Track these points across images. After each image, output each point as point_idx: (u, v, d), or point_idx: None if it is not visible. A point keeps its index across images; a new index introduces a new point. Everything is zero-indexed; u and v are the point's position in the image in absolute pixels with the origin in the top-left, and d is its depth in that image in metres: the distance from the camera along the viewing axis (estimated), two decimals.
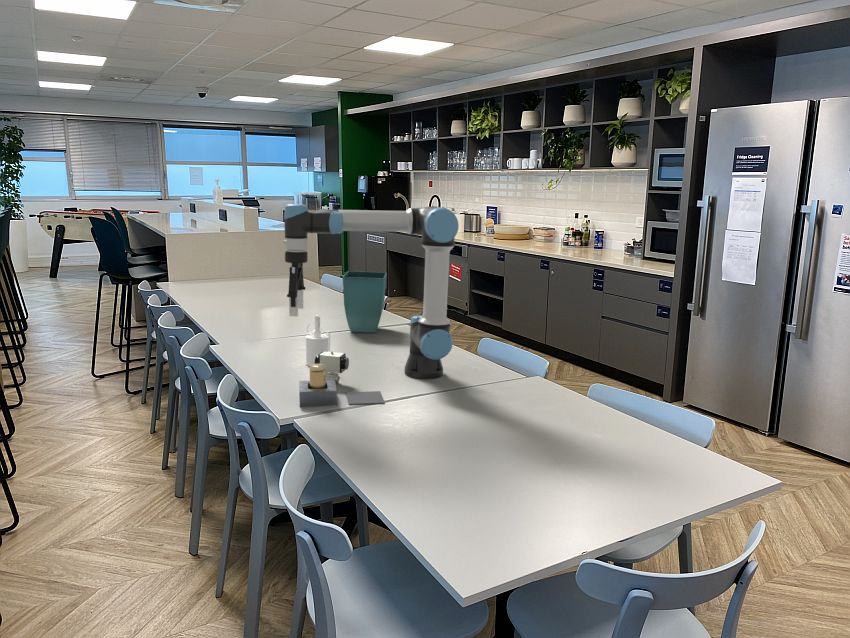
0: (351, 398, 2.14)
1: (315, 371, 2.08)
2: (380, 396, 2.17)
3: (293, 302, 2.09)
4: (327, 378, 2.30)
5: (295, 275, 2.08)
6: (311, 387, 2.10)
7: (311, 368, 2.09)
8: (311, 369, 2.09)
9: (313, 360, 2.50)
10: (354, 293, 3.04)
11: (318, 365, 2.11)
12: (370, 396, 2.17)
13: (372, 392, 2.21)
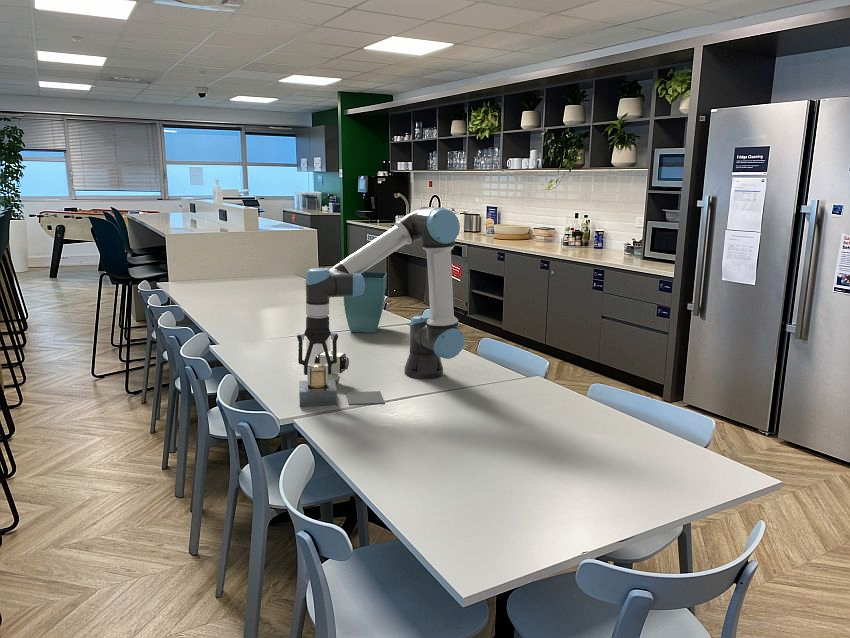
0: (351, 398, 2.14)
1: (315, 371, 2.08)
2: (380, 396, 2.17)
3: None
4: None
5: None
6: (311, 387, 2.10)
7: (311, 368, 2.09)
8: (311, 369, 2.09)
9: (313, 360, 2.50)
10: None
11: (318, 365, 2.11)
12: (370, 396, 2.17)
13: (372, 392, 2.21)
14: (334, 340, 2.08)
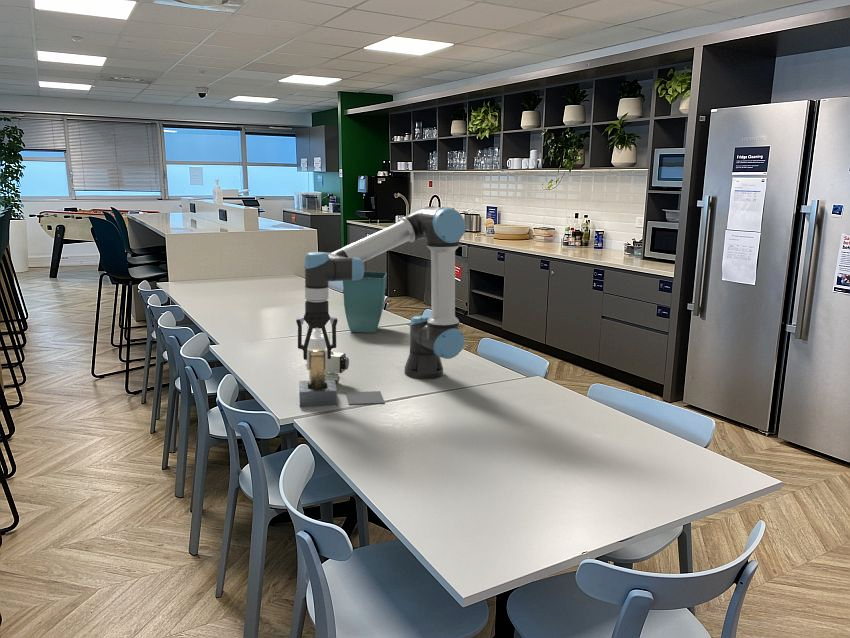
0: (351, 398, 2.14)
1: (314, 356, 2.07)
2: (380, 396, 2.17)
3: (303, 354, 2.08)
4: (327, 378, 2.30)
5: (298, 327, 2.06)
6: (311, 372, 2.09)
7: (310, 353, 2.07)
8: (310, 354, 2.08)
9: None
10: (354, 293, 3.04)
11: (317, 350, 2.10)
12: (370, 396, 2.17)
13: (372, 392, 2.21)
14: (333, 324, 2.07)
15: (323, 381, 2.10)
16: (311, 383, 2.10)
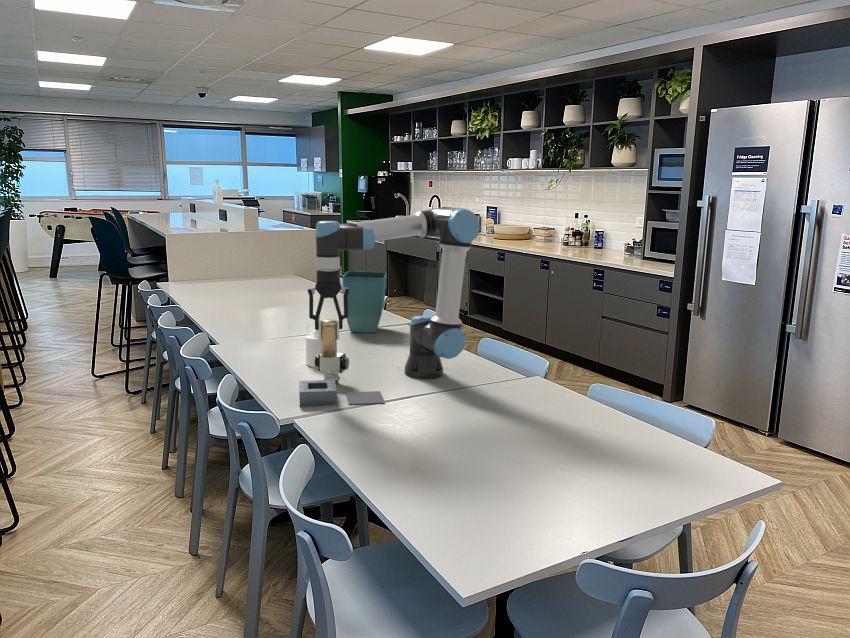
0: (351, 398, 2.14)
1: (326, 326, 2.06)
2: (380, 396, 2.17)
3: (315, 324, 2.07)
4: (327, 378, 2.30)
5: None
6: (322, 342, 2.08)
7: (322, 323, 2.06)
8: (322, 324, 2.06)
9: (313, 360, 2.50)
10: (354, 293, 3.04)
11: (329, 320, 2.08)
12: (370, 396, 2.17)
13: (372, 392, 2.21)
14: (345, 294, 2.06)
15: (335, 351, 2.09)
16: (323, 353, 2.08)
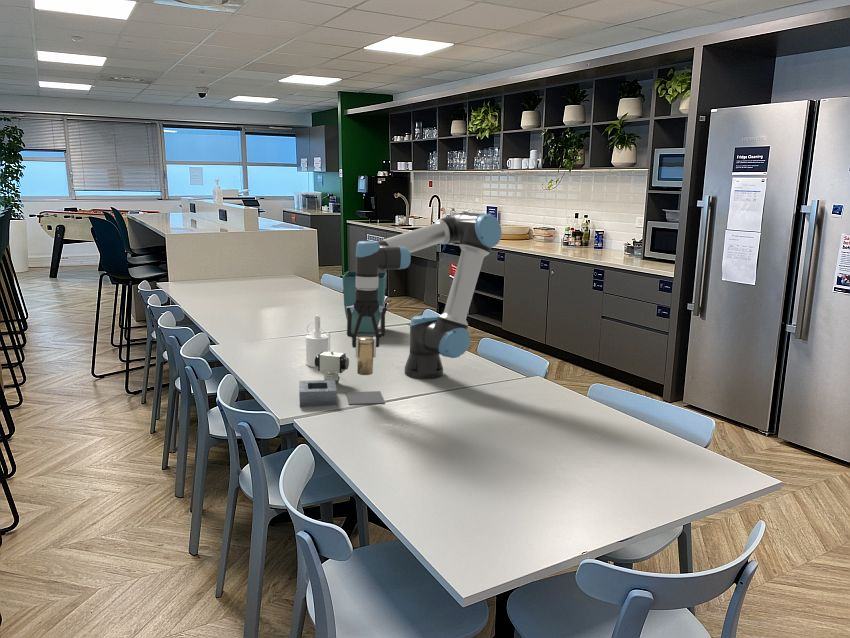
0: (351, 398, 2.14)
1: (364, 343, 2.09)
2: (380, 396, 2.17)
3: (352, 342, 2.11)
4: (327, 378, 2.30)
5: (348, 315, 2.08)
6: (359, 360, 2.11)
7: (360, 341, 2.10)
8: (360, 342, 2.10)
9: (313, 360, 2.50)
10: (354, 293, 3.04)
11: (366, 338, 2.12)
12: (370, 396, 2.17)
13: (372, 392, 2.21)
14: (383, 313, 2.10)
15: (371, 369, 2.13)
16: (359, 371, 2.12)
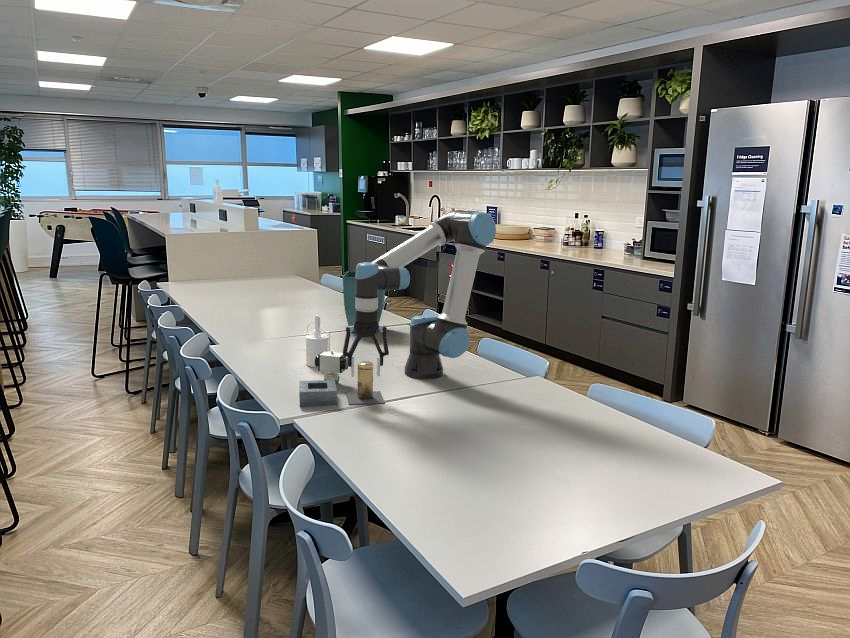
0: (351, 398, 2.14)
1: (363, 369, 2.11)
2: (380, 396, 2.17)
3: (348, 361, 2.12)
4: (327, 378, 2.30)
5: (346, 335, 2.09)
6: (359, 384, 2.13)
7: (359, 366, 2.11)
8: (359, 367, 2.12)
9: (313, 360, 2.50)
10: (354, 293, 3.04)
11: (366, 363, 2.14)
12: None
13: None
14: (383, 332, 2.11)
15: (371, 393, 2.15)
16: (359, 395, 2.14)
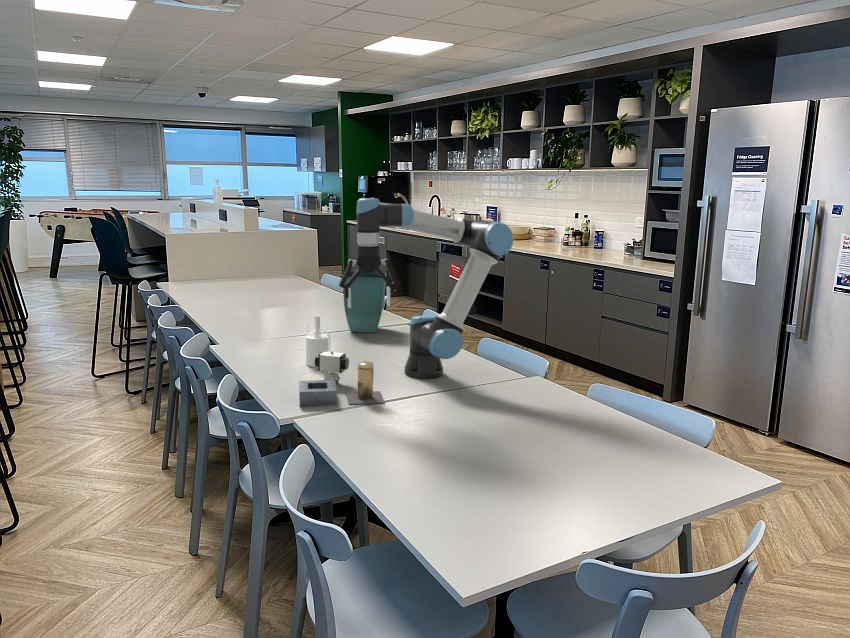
0: (351, 398, 2.14)
1: (364, 369, 2.11)
2: (380, 396, 2.17)
3: (344, 293, 2.14)
4: (327, 378, 2.30)
5: (347, 267, 2.12)
6: (359, 384, 2.13)
7: (360, 366, 2.12)
8: (360, 367, 2.12)
9: (313, 360, 2.50)
10: (354, 293, 3.04)
11: (366, 363, 2.14)
12: None
13: None
14: (387, 265, 2.15)
15: (372, 393, 2.15)
16: (360, 395, 2.14)
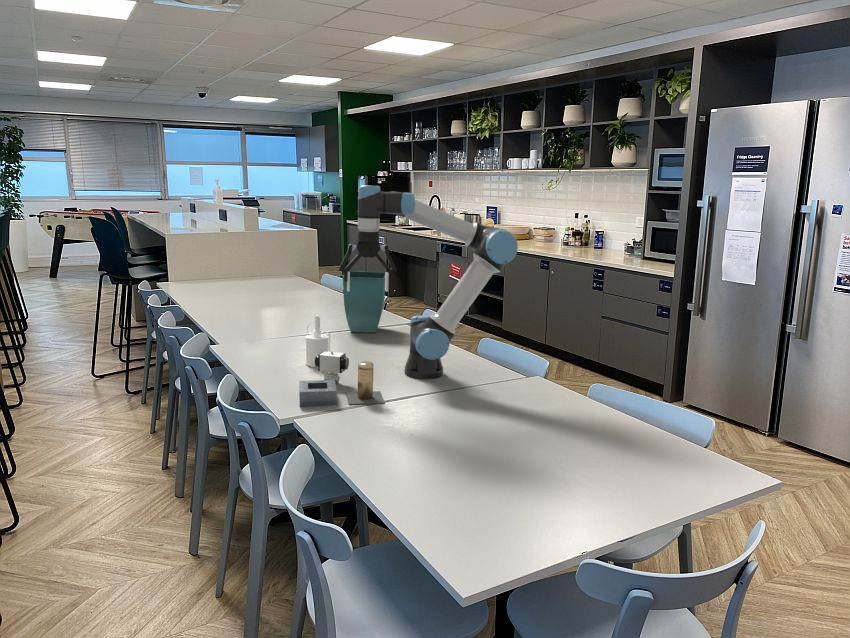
0: (351, 398, 2.14)
1: (364, 369, 2.11)
2: (380, 396, 2.17)
3: (344, 277, 2.21)
4: (327, 378, 2.30)
5: (347, 251, 2.19)
6: (359, 384, 2.13)
7: (360, 366, 2.12)
8: (360, 367, 2.12)
9: (313, 360, 2.50)
10: (354, 293, 3.04)
11: (366, 363, 2.14)
12: None
13: None
14: (386, 251, 2.21)
15: (372, 393, 2.15)
16: (360, 395, 2.14)
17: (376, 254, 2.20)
